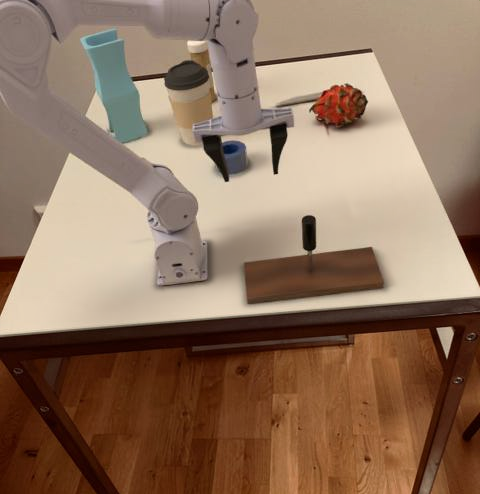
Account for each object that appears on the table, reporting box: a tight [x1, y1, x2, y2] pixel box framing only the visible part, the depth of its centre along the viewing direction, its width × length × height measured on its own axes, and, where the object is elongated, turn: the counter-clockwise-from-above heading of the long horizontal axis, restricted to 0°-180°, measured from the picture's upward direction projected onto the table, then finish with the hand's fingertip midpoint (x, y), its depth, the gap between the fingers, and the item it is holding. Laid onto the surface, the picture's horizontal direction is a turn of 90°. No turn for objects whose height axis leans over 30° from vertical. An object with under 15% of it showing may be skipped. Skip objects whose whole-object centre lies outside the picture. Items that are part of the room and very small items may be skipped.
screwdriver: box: [301, 214, 317, 272], centre depth 74 cm, size 2×2×9 cm
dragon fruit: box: [308, 82, 369, 129], centre depth 105 cm, size 8×8×12 cm
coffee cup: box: [163, 59, 214, 145], centre depth 105 cm, size 9×9×15 cm
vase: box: [79, 28, 149, 144], centre depth 109 cm, size 8×8×20 cm
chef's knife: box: [275, 87, 356, 107], centre depth 116 cm, size 19×1×3 cm
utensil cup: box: [214, 139, 249, 175], centre depth 99 cm, size 6×6×4 cm
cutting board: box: [243, 246, 385, 305], centre depth 77 cm, size 8×20×1 cm, turn 93°
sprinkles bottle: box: [186, 41, 217, 103], centre depth 117 cm, size 5×5×14 cm
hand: (251, 174), depth 79 cm, fingers open, 7 cm apart
